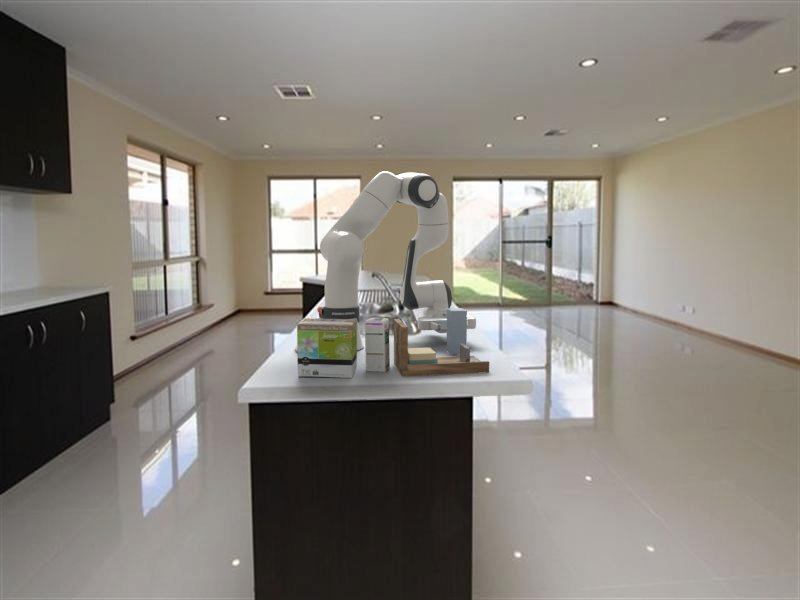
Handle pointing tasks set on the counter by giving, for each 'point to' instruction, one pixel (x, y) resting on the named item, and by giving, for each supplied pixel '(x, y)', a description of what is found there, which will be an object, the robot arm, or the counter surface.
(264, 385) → the counter surface
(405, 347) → the shelf
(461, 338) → the light blue upright block
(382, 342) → the syrup box
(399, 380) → the counter surface
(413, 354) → the book stack
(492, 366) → the counter surface
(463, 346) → the bookend
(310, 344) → the tea box
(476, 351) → the counter surface
